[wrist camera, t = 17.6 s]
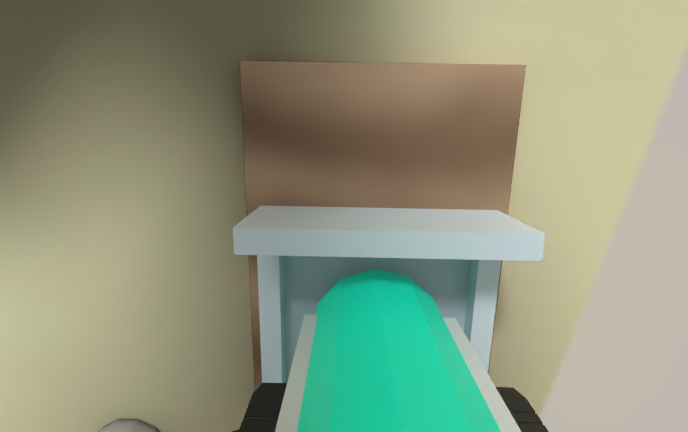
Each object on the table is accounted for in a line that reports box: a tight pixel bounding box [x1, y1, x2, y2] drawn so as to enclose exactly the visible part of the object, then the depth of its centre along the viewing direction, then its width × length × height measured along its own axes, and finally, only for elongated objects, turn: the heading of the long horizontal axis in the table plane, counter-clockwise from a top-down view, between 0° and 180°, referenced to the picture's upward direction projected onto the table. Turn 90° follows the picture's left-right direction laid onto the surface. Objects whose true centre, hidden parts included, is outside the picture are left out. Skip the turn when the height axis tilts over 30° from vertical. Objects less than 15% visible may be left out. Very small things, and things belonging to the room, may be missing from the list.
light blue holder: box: [232, 206, 545, 383], centre depth 16 cm, size 11×11×5 cm
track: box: [240, 61, 526, 391], centre depth 16 cm, size 20×13×7 cm, turn 179°
